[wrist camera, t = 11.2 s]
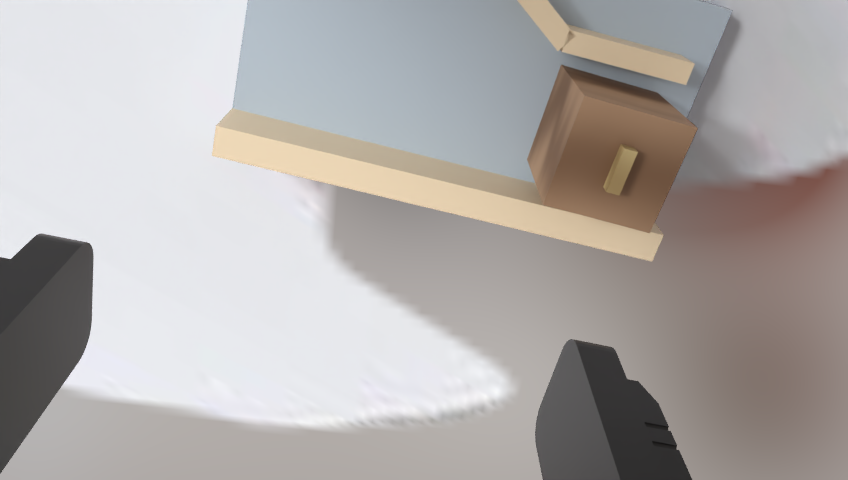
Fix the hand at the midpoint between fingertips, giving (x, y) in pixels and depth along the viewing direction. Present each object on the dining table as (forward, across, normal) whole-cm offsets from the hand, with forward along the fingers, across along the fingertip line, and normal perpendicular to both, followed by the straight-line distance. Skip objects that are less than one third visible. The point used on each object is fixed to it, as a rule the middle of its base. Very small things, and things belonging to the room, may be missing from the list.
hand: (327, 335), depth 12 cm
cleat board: (+26, -4, +1) cm, 26 cm away
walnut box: (+24, -11, +2) cm, 27 cm away
